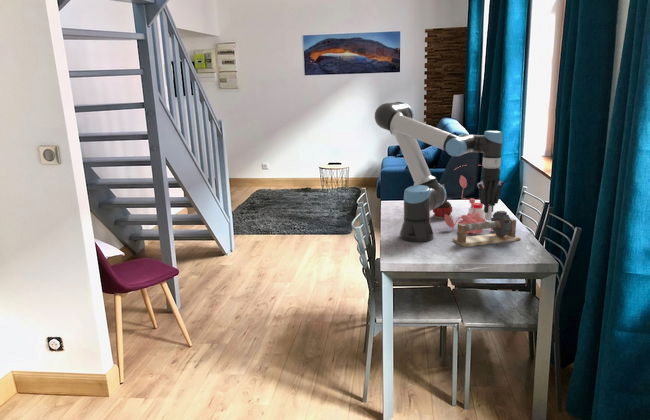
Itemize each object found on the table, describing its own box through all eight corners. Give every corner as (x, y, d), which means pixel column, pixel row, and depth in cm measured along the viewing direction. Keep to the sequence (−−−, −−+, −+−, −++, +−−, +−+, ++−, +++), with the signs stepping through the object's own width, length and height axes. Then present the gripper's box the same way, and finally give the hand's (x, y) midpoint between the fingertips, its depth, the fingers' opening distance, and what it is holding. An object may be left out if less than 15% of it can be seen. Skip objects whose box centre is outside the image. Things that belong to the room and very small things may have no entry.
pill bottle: (466, 226, 257) (467, 204, 255) (469, 222, 264) (470, 201, 262) (482, 228, 254) (483, 206, 251) (485, 224, 261) (486, 202, 258)
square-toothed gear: (504, 239, 231) (506, 214, 228) (490, 232, 241) (491, 209, 239) (510, 238, 232) (512, 214, 229) (496, 231, 242) (497, 208, 240)
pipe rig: (464, 246, 227) (465, 227, 225) (452, 240, 236) (453, 221, 234) (520, 240, 234) (521, 221, 232) (506, 234, 243) (507, 215, 241)
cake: (447, 221, 269) (448, 186, 265) (430, 219, 274) (431, 185, 270) (454, 216, 278) (455, 182, 274) (437, 214, 283) (438, 181, 279)
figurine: (500, 183, 264) (499, 243, 246) (447, 180, 271) (442, 239, 253) (503, 164, 252) (502, 226, 234) (448, 162, 258) (442, 222, 240)
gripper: (483, 169, 222) (480, 222, 228) (509, 167, 226) (505, 220, 232) (473, 166, 229) (470, 218, 235) (499, 164, 233) (495, 216, 239)
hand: (488, 219), depth 233 cm, fingers closed
